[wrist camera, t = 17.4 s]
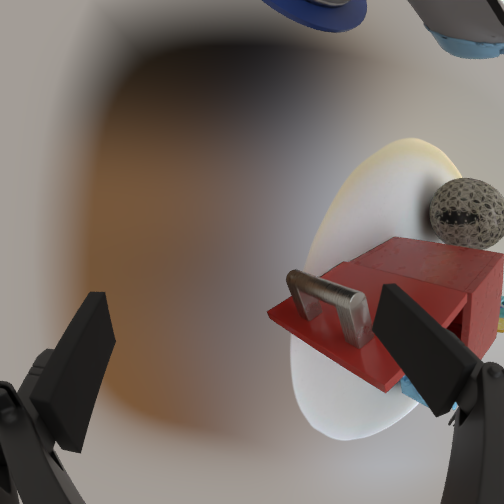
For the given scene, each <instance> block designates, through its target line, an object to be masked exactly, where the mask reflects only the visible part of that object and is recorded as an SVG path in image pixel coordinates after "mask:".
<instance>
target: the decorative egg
mask: <svg viewBox="0 0 504 504" xmlns="http://www.w3.org/2000/svg"><path fill="white" fill-rule="evenodd" d="M430 221H431V224H432V227H433V230H434V231H435V233H436V235H437V236H438V237H439V239H440V240H441V241H443V242H444V243H445V244H448V245H454V246H461V247H467V248H473V249H479V250H483V249H487V248H489V247H491V246H493V245H494V244H496V243H497V242H498V241H499V240H500V239H501V238H502V237H503V236H504V198H503V196H502V195H501V194H500V193H499V192H498V191H497V190H496V189H495V188H494V187H492V186H491V185H489V184H487V183H485V182H483V181H480V180H476V179H470V178H459V179H454V180H451V181H449V182H447V183H445V184H444V185H443V186H441V187H440V188H439V189H438V191H437V192H436V193H435V195H434V197H433V199H432V201H431V205H430Z"/></svg>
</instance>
